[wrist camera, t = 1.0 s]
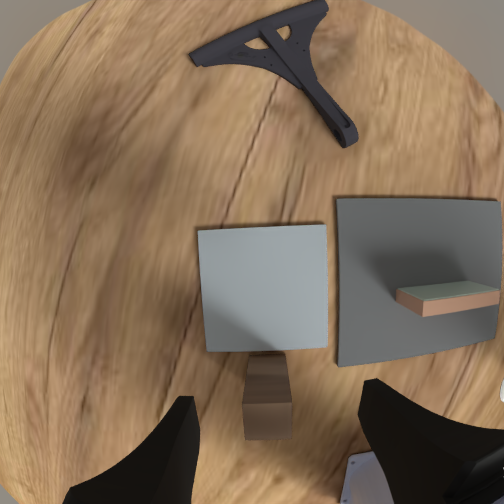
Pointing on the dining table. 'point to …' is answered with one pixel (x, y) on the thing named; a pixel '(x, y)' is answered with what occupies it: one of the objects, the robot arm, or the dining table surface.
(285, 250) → the rest pad
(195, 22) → the dining table surface
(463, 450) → the robot arm
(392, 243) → the slate mat
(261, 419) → the walnut stick
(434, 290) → the tile
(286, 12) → the bracket
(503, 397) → the champagne flute
